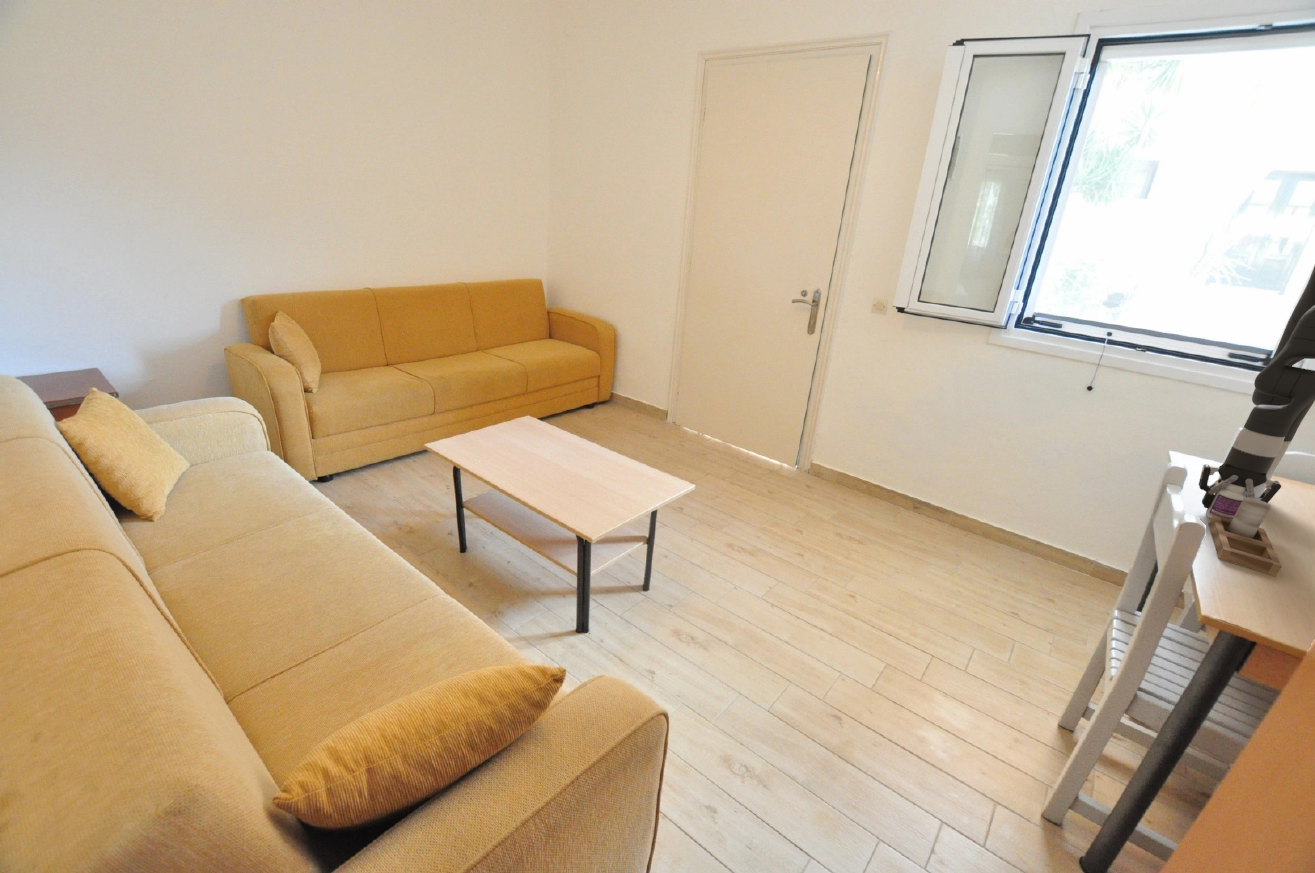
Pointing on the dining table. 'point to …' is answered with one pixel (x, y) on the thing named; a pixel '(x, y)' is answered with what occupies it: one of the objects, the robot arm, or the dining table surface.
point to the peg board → (1245, 538)
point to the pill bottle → (1226, 501)
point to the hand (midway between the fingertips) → (1222, 511)
